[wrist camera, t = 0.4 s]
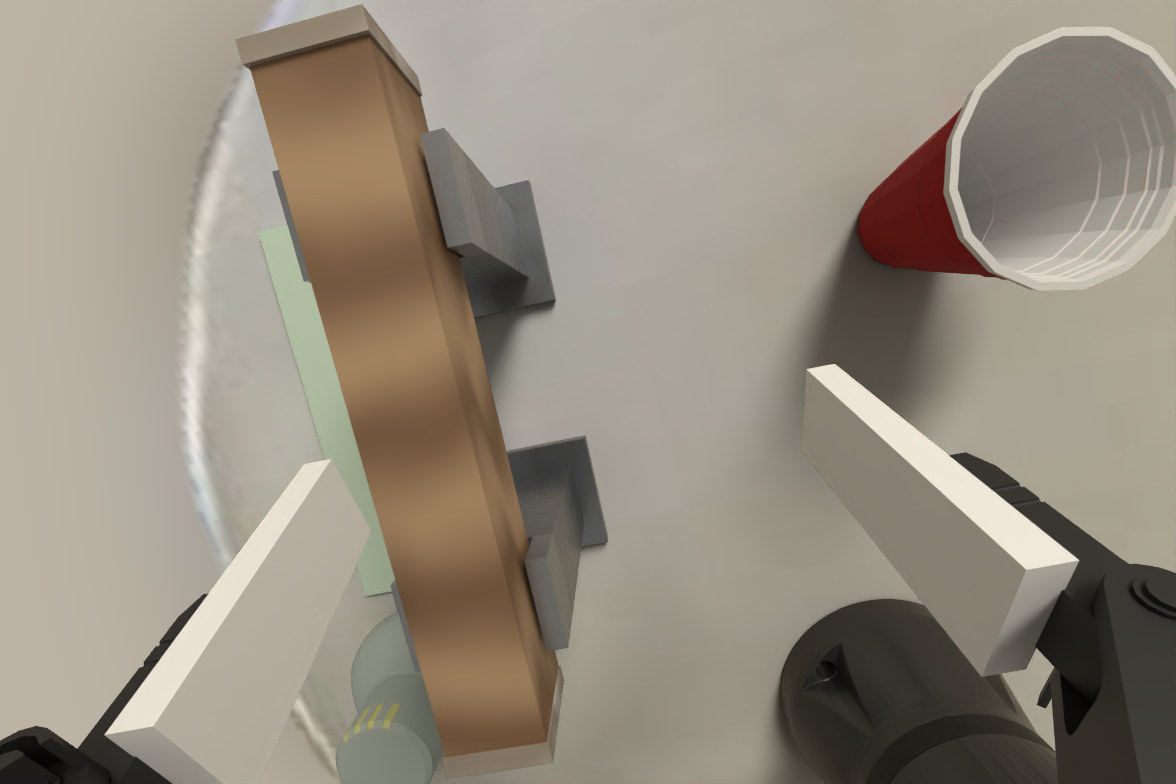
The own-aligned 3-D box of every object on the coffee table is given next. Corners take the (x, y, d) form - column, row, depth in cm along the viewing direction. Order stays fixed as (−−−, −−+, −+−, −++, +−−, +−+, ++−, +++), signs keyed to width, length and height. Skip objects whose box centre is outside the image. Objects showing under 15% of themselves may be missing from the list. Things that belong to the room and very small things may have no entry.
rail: (563, 680, 24) (552, 763, 19) (477, 693, 24) (446, 778, 20) (417, 76, 20) (361, 4, 16) (318, 102, 21) (235, 39, 16)
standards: (607, 537, 35) (606, 678, 21) (480, 560, 36) (396, 712, 22) (530, 183, 32) (467, 70, 18) (392, 217, 33) (226, 133, 19)
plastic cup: (996, 284, 32) (1228, 259, 20) (834, 320, 33) (964, 316, 21) (978, 117, 30) (1215, -17, 19) (809, 158, 31) (932, 55, 19)
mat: (477, 573, 36) (475, 576, 36) (367, 593, 37) (365, 596, 37) (381, 204, 33) (378, 202, 32) (262, 233, 33) (258, 232, 33)
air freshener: (367, 608, 37) (279, 710, 27) (461, 575, 36) (407, 668, 27) (422, 725, 38) (357, 863, 29) (515, 695, 38) (481, 826, 28)
